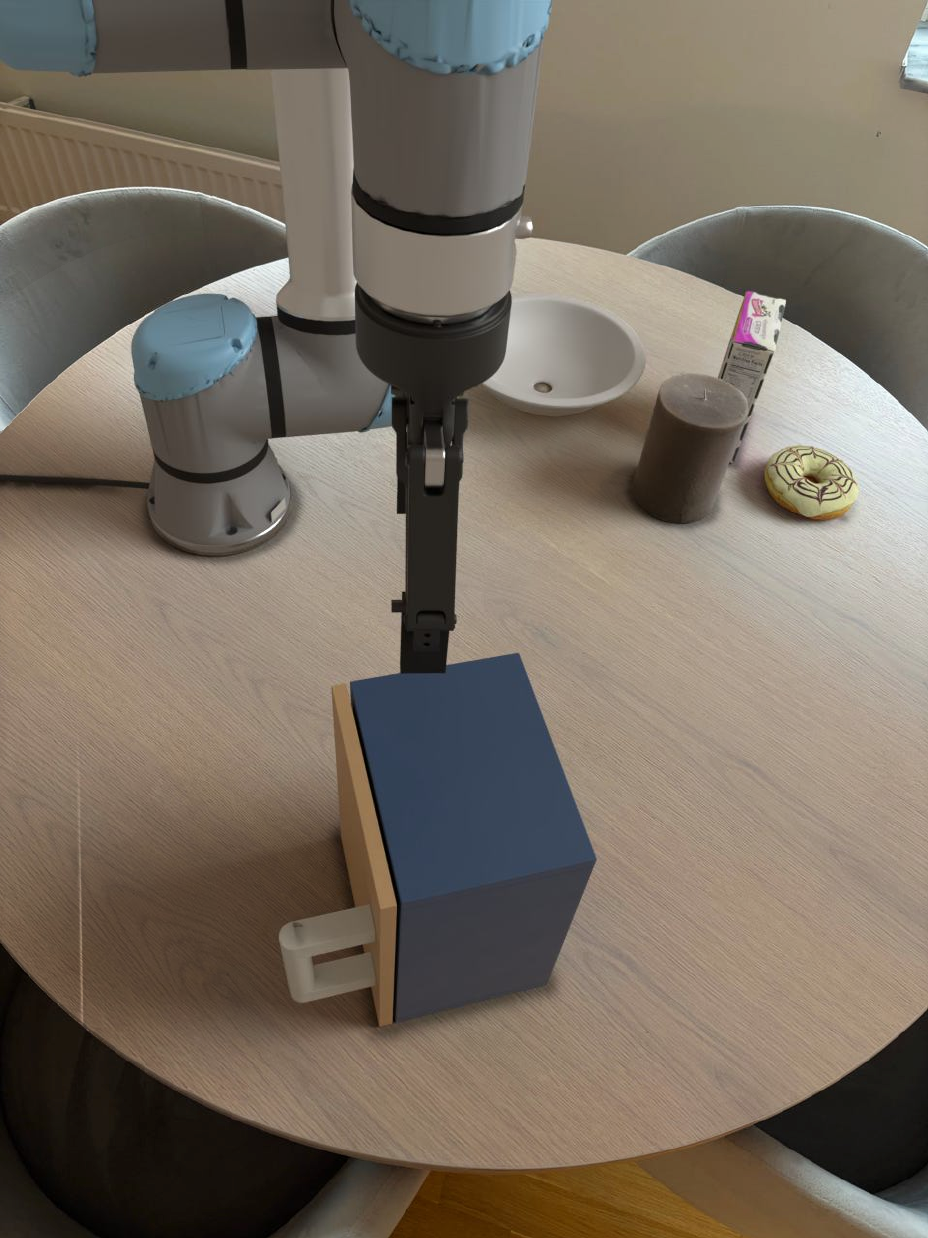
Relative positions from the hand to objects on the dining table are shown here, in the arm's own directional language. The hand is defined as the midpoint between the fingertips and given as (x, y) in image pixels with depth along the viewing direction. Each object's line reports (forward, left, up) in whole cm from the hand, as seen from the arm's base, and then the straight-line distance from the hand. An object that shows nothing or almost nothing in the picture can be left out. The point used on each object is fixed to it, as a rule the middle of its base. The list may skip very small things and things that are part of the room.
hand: (419, 584), depth 61 cm
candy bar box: (+11, +64, -29) cm, 71 cm away
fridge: (+7, -7, -29) cm, 30 cm away
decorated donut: (+23, +58, -29) cm, 69 cm away
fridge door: (0, -13, -28) cm, 31 cm away
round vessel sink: (-12, +61, -29) cm, 68 cm away
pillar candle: (+9, +50, -29) cm, 58 cm away
